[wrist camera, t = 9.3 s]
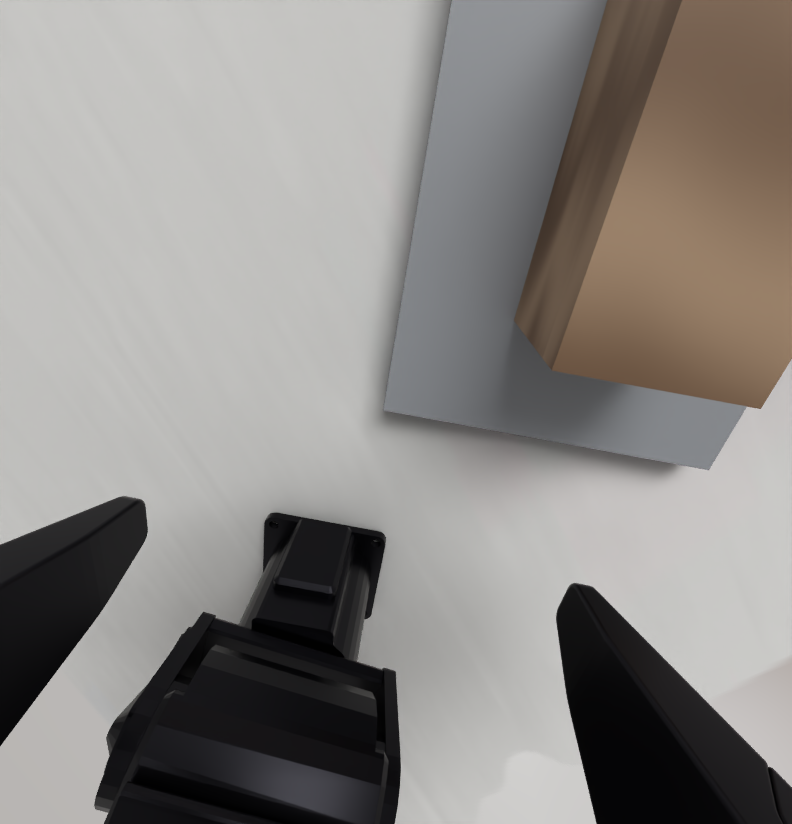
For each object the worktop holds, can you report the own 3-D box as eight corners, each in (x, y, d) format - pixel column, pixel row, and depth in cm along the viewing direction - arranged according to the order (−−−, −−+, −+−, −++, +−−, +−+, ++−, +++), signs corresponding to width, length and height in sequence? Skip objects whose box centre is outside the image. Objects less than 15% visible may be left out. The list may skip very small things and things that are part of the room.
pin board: (689, 451, 19) (768, 526, 14) (386, 396, 19) (372, 453, 14) (1075, -239, 10) (1590, -601, 6) (511, -342, 10) (573, -785, 6)
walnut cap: (655, 346, 15) (760, 408, 11) (513, 320, 15) (552, 370, 11) (837, -50, 11) (1183, -276, 6) (633, -88, 11) (803, -345, 6)
